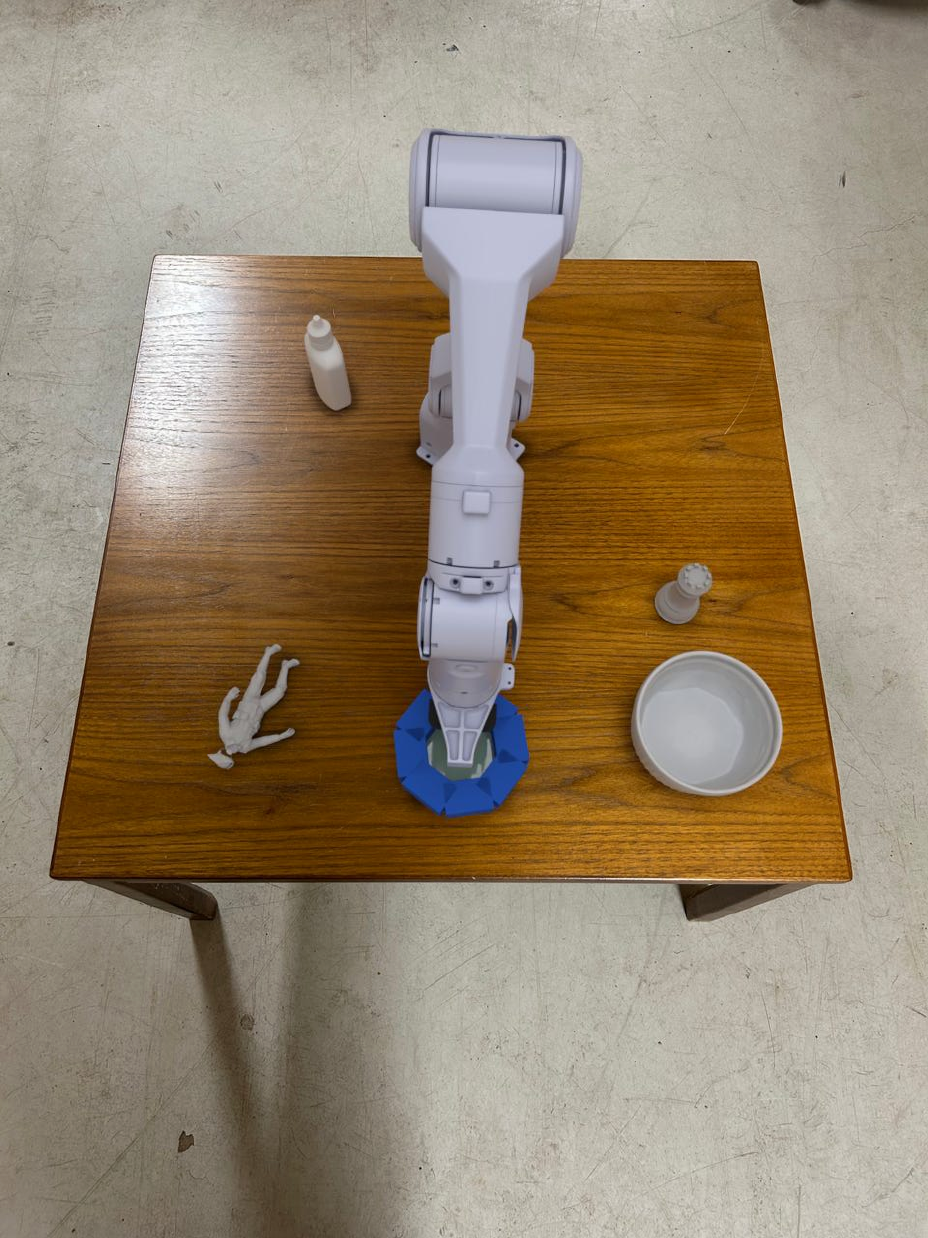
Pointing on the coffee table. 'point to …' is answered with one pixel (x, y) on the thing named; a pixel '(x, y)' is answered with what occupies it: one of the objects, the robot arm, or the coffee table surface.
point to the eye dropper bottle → (327, 364)
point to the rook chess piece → (683, 594)
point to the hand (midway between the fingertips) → (462, 700)
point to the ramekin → (706, 724)
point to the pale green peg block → (480, 764)
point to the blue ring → (468, 792)
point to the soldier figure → (251, 712)
